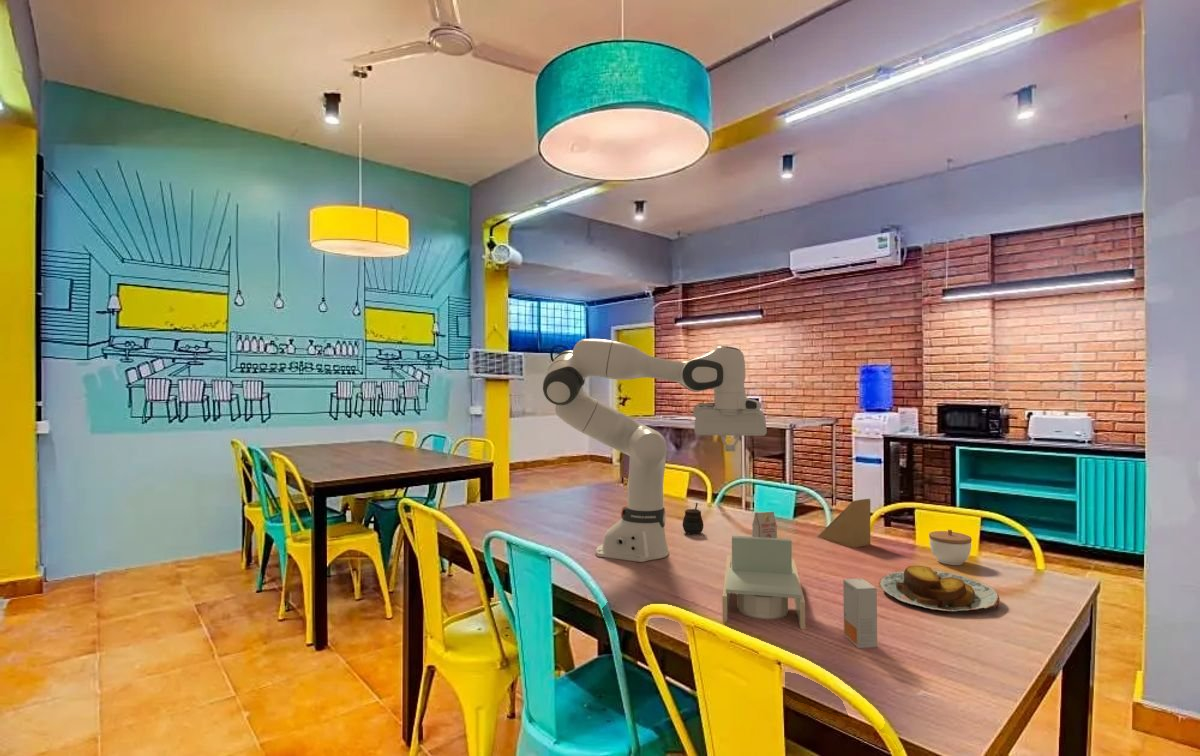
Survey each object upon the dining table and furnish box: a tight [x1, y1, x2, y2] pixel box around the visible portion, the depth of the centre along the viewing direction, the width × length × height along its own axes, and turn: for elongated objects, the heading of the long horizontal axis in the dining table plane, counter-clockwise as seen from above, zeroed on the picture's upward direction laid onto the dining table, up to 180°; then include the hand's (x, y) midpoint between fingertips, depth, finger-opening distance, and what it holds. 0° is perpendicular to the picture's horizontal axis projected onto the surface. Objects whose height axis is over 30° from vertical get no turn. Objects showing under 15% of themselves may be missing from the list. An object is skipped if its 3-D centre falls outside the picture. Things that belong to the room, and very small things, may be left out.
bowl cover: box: [726, 535, 801, 599], centre depth 140 cm, size 16×16×9 cm
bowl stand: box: [721, 554, 806, 630], centre depth 146 cm, size 17×32×6 cm, turn 166°
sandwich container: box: [816, 498, 871, 549], centre depth 199 cm, size 9×15×15 cm, turn 27°
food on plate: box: [878, 565, 1000, 618], centre depth 148 cm, size 25×25×7 cm
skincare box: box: [842, 578, 878, 649], centre depth 122 cm, size 6×4×12 cm
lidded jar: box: [928, 529, 973, 566], centre depth 175 cm, size 11×11×9 cm
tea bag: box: [752, 511, 778, 538], centre depth 197 cm, size 4×7×10 cm, turn 108°
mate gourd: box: [682, 502, 704, 536], centre depth 210 cm, size 7×8×10 cm
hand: (730, 451), depth 172 cm, fingers closed
